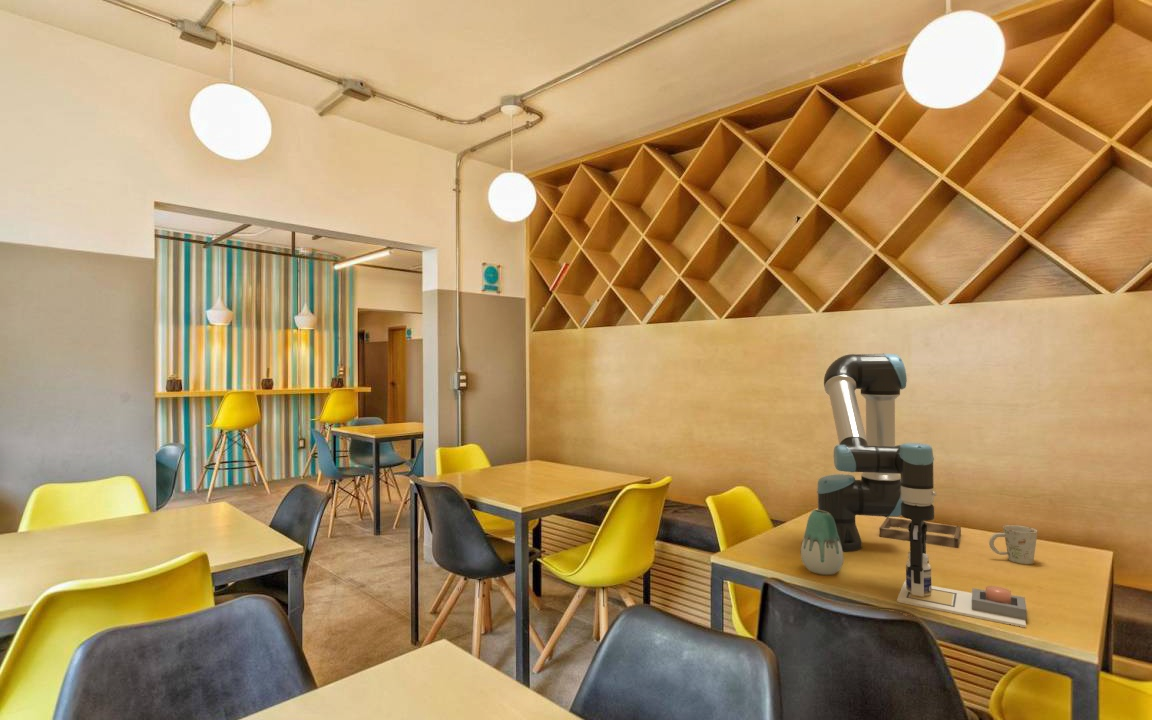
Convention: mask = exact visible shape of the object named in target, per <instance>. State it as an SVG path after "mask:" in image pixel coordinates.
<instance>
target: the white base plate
mask: <svg viewBox="0 0 1152 720" xmlns="http://www.w3.org/2000/svg"><path fill="white" fill-rule="evenodd" d="M896 603H900V604H906V605H911V606H915V607H921V608H925V609H929V610H930V609H931V610H936V611H940V612H946V613H951V614H955V615H960V616H966V617H969V618H975V619H978V620H979V619H980V620H985V621H988V622H989V621H990V622H994V623H1000V624H1003V625H1004V624H1006V625H1009V624H1011V625H1010V626H1014V625H1015V627H1019V626H1020V628H1024V627H1025V628H1024V629H1027V622H1026V621H1027V620H1028V613H1027V612H1028V611H1027V604H1026V598H1025V596H1024V597H1023V596H1018V595H1014V594H1011V605H1010V604H1004V603H999V602H994V601H988V600H986V589H979V588H973V587H972V591H971V592H968V591H963V590H959V589H957V590H956V589H952V588H947V587H946V588H945V587H940V586H935V585H931V595H929V596H924V597H922V596H916V595H912V593H910V592H908V591H907V589H906V580H904V582H903V584H902V586H901V589H900V591H899V594H898V595H897V599H896Z"/></svg>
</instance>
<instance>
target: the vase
mask: <svg viewBox="0 0 1152 720" xmlns="http://www.w3.org/2000/svg"><path fill="white" fill-rule="evenodd" d="M800 559H801V562H802V564H803V565H804V567H805V568H806V569H807V570H808V571H810V572H811V573H813V574H818V575H820V576H821V575H824V576H831V575H836V573H838V572H839V571H841V569H842V567H843V565H844V551H843V550H842V545H841V542H840V539H839V535H838V532H837V528H836V524H835V520H834V518H833V516H832V515H831V514H830V513H829V512H826V511H823V510H818V509H813V510H812V511H811V513H810V514H809V516H808V519H807V521H806V527H805V530H804V533H803V539H802V542H801V548H800Z"/></svg>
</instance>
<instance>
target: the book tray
mask: <svg viewBox="0 0 1152 720" xmlns="http://www.w3.org/2000/svg"><path fill="white" fill-rule="evenodd" d="M911 522H912V520H911V519H906V518H904V519H903V518H898V517H885V519H884V521H883V522H882V524H881V525H880V526H879V531H878V532H879V538H880V537H881V538H886V539H894V540H895V539H896V540H900V541H907V542H910V541H909V530H908V526H909V525H910V523H911ZM925 522H926V525H927V532H930V533H926V545H927V544H928V545H936V546H942V547H949V548H957V549H959V548H960V542H961V537H962V533H961V532H962V528H961V526H959V525H951V524H944V523H943V524H942V523H935V522H928V521H925ZM892 527H893V528H892ZM899 527H900V529H901V530H900V529H895V528H899ZM906 528H907V530H902V529H906ZM931 533H937V534H931ZM939 534H944V535H939ZM946 535H952V536H953V537H952V536H946Z"/></svg>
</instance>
